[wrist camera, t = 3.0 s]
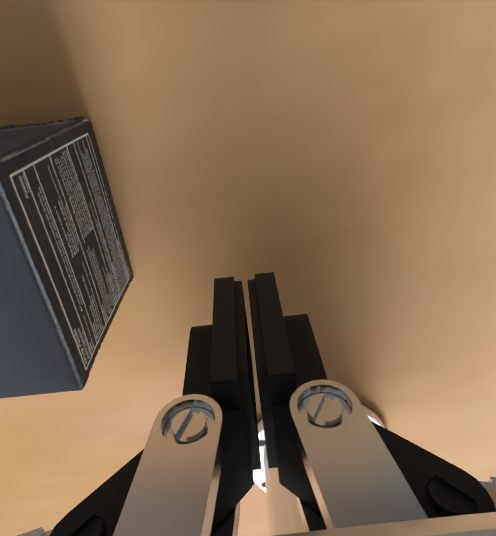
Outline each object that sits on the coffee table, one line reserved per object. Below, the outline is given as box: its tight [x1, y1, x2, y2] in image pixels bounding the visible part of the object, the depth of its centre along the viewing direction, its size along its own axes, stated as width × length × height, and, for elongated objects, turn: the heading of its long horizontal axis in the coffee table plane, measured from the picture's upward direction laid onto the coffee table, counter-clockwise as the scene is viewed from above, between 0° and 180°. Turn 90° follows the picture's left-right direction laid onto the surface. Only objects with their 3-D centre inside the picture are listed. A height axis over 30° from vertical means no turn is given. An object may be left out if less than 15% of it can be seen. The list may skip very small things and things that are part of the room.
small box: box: [0, 117, 133, 398], centre depth 20 cm, size 11×6×10 cm, turn 6°
